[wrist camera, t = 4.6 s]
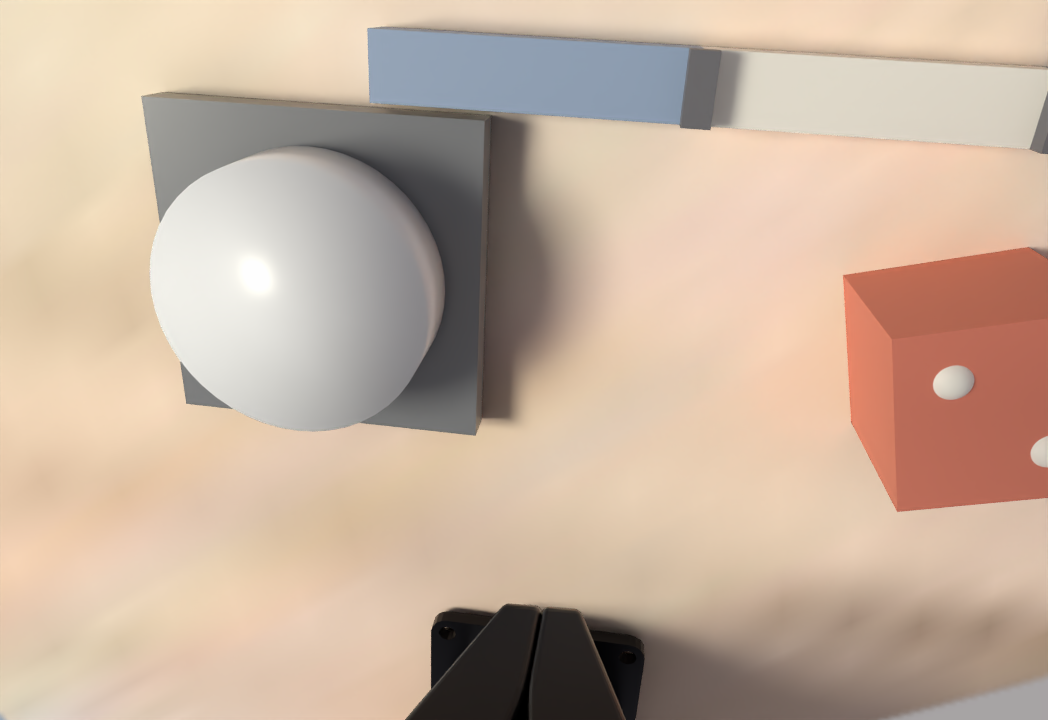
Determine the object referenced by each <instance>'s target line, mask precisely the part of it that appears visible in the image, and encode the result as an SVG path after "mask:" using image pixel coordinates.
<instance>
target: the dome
mask: <svg viewBox="0 0 1048 720" xmlns="http://www.w3.org/2000/svg"><path fill="white" fill-rule="evenodd" d="M150 285H151V294H152V298H153V303H154V307H155V311H156V314H157V317H158V320H159V323H160V325H161V328H162V330H163V332H164V334H165V336H166V338H167V340H168V342H169V344H170V346H171V347H172V349H173V350H174V352H175V354H176V355H177V357H178V358H179V360H180V361H181V362H182V364H183V365H184V366H185V367H186V369H187V370H188V371H189V372H190V374H191V375H192V376H193V377H194V378H195V379H196V380H197V381H198V382H199V383H200V384H201V385H202V386H203V387H204V388H206V389H207V390H208V391H209V392H210V393H212V394H213V395H214V396H215V397H216V398H218V399H219V400H221V401H222V402H224V403H225V404H227V405H228V406H230V407H231V408H233V409H235V410H237V411H238V412H240V413H242V414H244V415H246V416H248V417H250V418H253V419H255V420H258V421H260V422H263V423H266V424H269V425H273V426H276V427H280V428H285V429H291V430H298V431H326V430H334V429H339V428H344V427H348V426H351V425H354V424H357V423H360V422H362V421H364V420H366V419H368V418H370V417H372V416H374V415H376V414H377V413H378V412H380V411H381V410H383V409H384V408H386V407H387V406H388V405H389V404H390V403H391V402H393V401H394V400H395V399H396V398H397V397H398V396H399V395H400V394H401V392H402V391H403V390H404V388H405V387H406V386H407V385H408V383H409V382H410V380H411V378H412V377H413V375H414V373H415V372H416V370H417V368H418V367H419V365H420V363H421V362H422V360H423V358H424V357H425V355H426V353H427V352H428V350H429V348H430V346H431V344H432V343H433V341H434V339H435V337H436V334H437V332H438V329H439V326H440V324H441V319H442V315H443V310H444V301H445V280H444V272H443V266H442V261H441V257H440V254H439V251H438V248H437V245H436V242H435V240H434V238H433V236H432V233H431V231H430V229H429V227H428V225H427V224H426V222H425V220H424V219H423V217H422V216H421V214H420V212H419V211H418V209H417V208H416V207H415V206H414V205H413V203H412V202H411V201H410V200H409V198H408V197H407V196H406V195H405V194H404V193H403V192H402V191H401V190H400V189H399V188H398V187H397V186H396V185H395V184H394V183H393V182H392V181H390V180H389V179H388V178H386V177H385V176H384V175H382V174H381V173H380V172H378V171H377V170H375V169H374V168H372V167H370V166H368V165H367V164H365V163H363V162H361V161H359V160H357V159H355V158H352V157H350V156H348V155H345V154H343V153H339V152H336V151H332V150H329V149H324V148H317V147H310V146H287V147H279V148H273V149H269V150H266V151H262V152H259V153H256V154H254V155H251V156H248V157H246V158H243V159H241V160H238V161H236V162H233V163H231V164H228V165H226V166H223V167H221V168H219V169H216V170H214V171H212V172H210V173H208V174H206V175H204V176H202V177H201V178H199V179H198V180H196V181H195V182H193V183H192V184H190V185H189V186H188V187H187V188H186V189H185V190H184V191H183V192H182V193H181V194H180V195H179V196H178V197H177V198H176V199H175V200H174V202H173V203H172V204H171V206H170V207H169V208H168V210H167V211H166V213H165V215H164V217H163V219H162V221H161V222H160V224H159V227H158V230H157V233H156V235H155V238H154V241H153V247H152V252H151V257H150Z"/></svg>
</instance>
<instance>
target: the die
mask: <svg viewBox="0 0 1048 720" xmlns="http://www.w3.org/2000/svg"><path fill="white" fill-rule="evenodd" d="M843 281H844V299H845V317H846V335H847V353H848V371H849V389H850V407H851V423H852V425H853V427H854V428H855V430H856V432H857V434H858V436H859V438H860V440H861V442H862V444H863V446H864V448H865V450H866V452H867V454H868V456H869V458H870V460H871V462H872V464H873V465H874V467H875V469H876V471H877V473H878V475H879V477H880V479H881V481H882V483H883V485H884V487H885V489H886V491H887V493H888V495H889V497H890V499H891V501H892V503H893V504H894V506H895V508H896V510H897V512H900V511H910V510H921V509H932V508H942V507H953V506H964V505H975V504H985V503H996V502H1007V501H1018V500H1028V499H1039V498H1048V259H1047V258H1045V257H1043V256H1042V255H1040V254H1039V253H1037V252H1035V251H1034V250H1032V249H1031V248H1029V247H1027V248H1020V249H1013V250H1007V251H1000V252H994V253H987V254H980V255H974V256H967V257H961V258H954V259H947V260H941V261H934V262H928V263H921V264H915V265H908V266H901V267H895V268H888V269H882V270H875V271H868V272H862V273H855V274H849V275H843Z"/></svg>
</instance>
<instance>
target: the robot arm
mask: <svg viewBox="0 0 1048 720" xmlns="http://www.w3.org/2000/svg"><path fill="white" fill-rule="evenodd" d="M444 627H449V628H452V629H453V630H447V629H445V628H444ZM625 651H629V652H632V654H625V653H622V652H625ZM643 666H644V645H643V643H642V642H641V640H639V639H638V638H636V637H633V636H630V635H623V634H615V633H608V632H600V631H593V630H589V629H588V627H587V625H586V622H585V620H584V617H583V615H582V614H581V612H580V611H578V610H577V609H569V608H557V607H547V608H545V609H544V610H543V612H542V611H541V609H540V608H539V607H538V606H533V605H520V604H506V605H504V606H502V608H501V609H500V610H499V611H498V612H497V613H496V614H495V616H494V617H487V616H480V615H472V614H464V613H457V612H442V613H440V614H438V615H437V616H436V617H435V620H434V624H433V627H432V630H431V690H430V691H429V692H428V694H427V695H426V696H425V697H424V698H423V699H422V701H421V702H420V703H419V704H418V705H417V706H416V708H415V709H414V710H413V711H412V712H411V713H410V715H409V716H408V717H407V718H406V719H405V720H635V718H636V712H637V705H638V699H639V692H640V686H641V679H642V673H643Z"/></svg>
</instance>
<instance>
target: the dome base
mask: <svg viewBox="0 0 1048 720" xmlns="http://www.w3.org/2000/svg"><path fill="white" fill-rule="evenodd" d="M141 97H142V103H143V110H144V117H145V124H146V131H147V138H148V144H149V151H150V158H151V165H152V172H153V179H154V185H155V192H156V199H157V206H158V213H159V220H160V222H161V221H162V219H163V217H164V215H165V213H166V211H167V210H168V208H169V207H170V206H171V204H172V203H173V202H174V200H175V199H176V198H177V197H178V196H179V195H180V194H181V193H182V192H183V191H184V190H185V189H186V188H187V187H188V186H189V185H190V184H192V183H193V182H195V181H196V180H198V179H199V178H201V177H202V176H204V175H206V174H208V173H210V172H212V171H214V170H216V169H219V168H221V167H223V166H226V165H228V164H231V163H233V162H236V161H238V160H241V159H243V158H246V157H248V156H251V155H254V154H256V153H259V152H262V151H266V150H269V149H273V148H279V147H287V146H310V147H317V148H324V149H329V150H332V151H336V152H339V153H343V154H345V155H348V156H350V157H352V158H355V159H357V160H359V161H361V162H363V163H365V164H367V165H368V166H370V167H372V168H374V169H375V170H377V171H378V172H380V173H381V174H382V175H384V176H385V177H386V178H388V179H389V180H390V181H392V182H393V183H394V184H395V185H396V186H397V187H398V188H399V189H400V190H401V191H402V192H403V193H404V194H405V195H406V196H407V197H408V198H409V200H410V201H411V202H412V203H413V205H414V206H415V207H416V208H417V209H418V211H419V212H420V214H421V216H422V217H423V219H424V220H425V222H426V224H427V225H428V227H429V229H430V231H431V233H432V236H433V238H434V240H435V242H436V245H437V248H438V251H439V254H440V257H441V261H442V266H443V272H444V280H445V301H444V310H443V315H442V319H441V324H440V326H439V329H438V332H437V334H436V337H435V339H434V341H433V343H432V344H431V346H430V348H429V350H428V352H427V353H426V355H425V357H424V358H423V360H422V362H421V363H420V365H419V367H418V368H417V370H416V372H415V373H414V375H413V377H412V378H411V380H410V382H409V383H408V385H407V386H406V387H405V388H404V390H403V391H402V392H401V394H400V395H399V396H398V397H397V398H396V399H395V400H394V401H393V402H391V403H390V404H389V405H388V406H387V407H386V408H384V409H383V410H381V411H380V412H378V413H377V414H376V415H374V416H372V417H370V418H368V419H366V420H364V421H362V422H360V423H366V424H375V425H384V426H393V427H402V428H411V429H420V430H429V431H439V432H448V433H457V434H466V435H475V436H476V433H477V430H478V428H479V425H480V422H481V419H482V391H483V360H484V329H485V298H486V267H487V236H488V205H489V174H490V143H491V115H478V114H463V113H449V112H435V111H421V110H407V109H393V108H379V107H365V106H351V105H337V104H322V103H308V102H294V101H280V100H266V99H252V98H238V97H224V96H210V95H196V94H181V93H167V92H161V93H156V94H150V95H145V96H141ZM180 363H181V370H182V377H183V384H184V390H185V397H186V404H194V405H203V406H212V407H221V408H230V409H233V408H231V407H230V406H228V405H227V404H225V403H224V402H222V401H221V400H219V399H218V398H216V397H215V396H214V395H213V394H212V393H210V392H209V391H208V390H207V389H206V388H204V387H203V386H202V385H201V384H200V383H199V382H198V381H197V380H196V379H195V378H194V377H193V376H192V375H191V374H190V372H189V371H188V370H187V369H186V367H185V366H184V365H183V364H182V362H181V361H180Z"/></svg>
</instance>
